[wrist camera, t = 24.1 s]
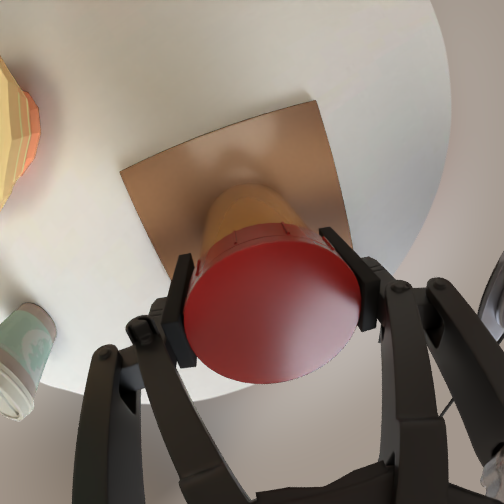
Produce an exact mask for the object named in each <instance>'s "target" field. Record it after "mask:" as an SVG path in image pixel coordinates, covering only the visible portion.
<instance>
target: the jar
mask: <svg viewBox="0 0 504 504" xmlns="http://www.w3.org/2000/svg"><path fill="white" fill-rule="evenodd" d="M281 222H284V223H286V224H293V225H297V226H300V227H304V228H306V229H308V230H311V229H310V228H309V227H308V225H307V224H306V223H305V222H304V220H303V219H302V218H301V217H300V216H299V214H298V213H297V212H296V211H295V210H294V208H293V207H292V206H291V205H290V204H289V202H288V201H287V200H286V199H285V198H284V197H283V196H282V195H281V194H280V193H279V192H278V191H276V190H275V189H273V188H271V187H269V186H266V185H263V184H258V183H244V184H239V185H235V186H233V187H231V188H228V189H227V190H225V191H224V192H222V193H221V194H220V195H219V196H218V197H217V198H216V199H215V200H214V201H213V202H212V204H211V205H210V207H209V209H208V212H207V214H206V218H205V223H204V229H203V235H202V241H201V248H200V254H199V260H200V259H201V258H202V256H203V255H204V254H205V253H206V251H208V250H209V249H210V248H211V247H212V246H213V245H214V244H215V243H216V242H218V241H219V240H221V239H222V238H223V237H225V236H227V235H229V234H231V233H233V231H234V230H235V231H237V230H240V229H242V228H245V227H248V226H252V225H256V224H263V223H281ZM311 231H312V230H311Z"/></svg>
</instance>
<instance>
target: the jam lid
mask: <svg viewBox="0 0 504 504" xmlns="http://www.w3.org/2000/svg"><path fill="white" fill-rule="evenodd" d="M360 314H361V291H360V287H359V284H358V281H357V278H356V277H355V275H354V273H353V271H352V270H351V268H350V267H349V266H348V265H347V264H346V262H345V261H344V260H343V259H342V258H341V256H340V255H339V254H338V253H337V252H336V250H335V248H334V247H333V246H332V245H331V244H330V242H329V241H328V240H327V239H326V238H325V237H324V236H323V237H321V236H320V235H318V234H316V233H315V232H313V231H311V230H308V229H306V228H304V227H300V226H297V225H293V224H286V223H284V222H281V223H263V224H256V225H252V226H248V227H245V228H242V229H240V230H237V231H235V230H234V231H233V233H231V234H229V235H227V236H225V237H223V238H222V239H221V240H219V241H218V242H216V243H215V244H214V245H213V246H212V247H211V248H210V249H209V250H208V251H206V253H205V254H204V255H203V256H202V258H201V259H200V260H197V264H196V267H195V268H194V270H193V273H192V275H191V278H190V282H189V286H188V291H187V297H186V298H185V303H184V309H183V315H184V321H183V322H184V331H185V334H186V337H187V340H188V342H189V345H190V347H191V349H192V350H193V352H194V353H195V355H196V356H197V357H198V358H199V359H200V360H201V361H202V362H203V363H204V364H205V365H206V366H207V367H209V368H210V369H211V370H213V371H215V372H216V373H218V374H220V375H222V376H224V377H227V378H230V379H233V380H236V381H240V382H245V383H253V384H271V383H279V382H285V381H289V380H293V379H296V378H299V377H302V376H304V375H307V374H309V373H311V372H313V371H315V370H317V369H319V368H320V367H322V366H323V365H325V364H326V363H328V362H329V361H330V360H332V359H333V358H334V357H335V356H336V355H337V354H338V353H339V352H340V351H341V350H342V349H343V348H344V346H345V345H346V344H347V343H348V341H349V340H350V338H351V337H352V335H353V333H354V331H355V329H356V326H357V325H358V321H359V318H360Z"/></svg>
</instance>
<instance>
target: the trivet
mask: <svg viewBox="0 0 504 504" xmlns="http://www.w3.org/2000/svg"><path fill="white" fill-rule="evenodd" d="M120 175H121V177H122V179H123V182H124V184H125V186H126V189H127V191H128V193H129V195H130V198H131V200H132V202H133V204H134V206H135V209H136V211H137V213H138V215H139V217H140V219H141V221H142V224H143V226H144V228H145V230H146V232H147V234H148V236H149V238H150V240H151V242H152V244H153V246H154V248H155V250H156V252H157V254H158V256H159V258H160V260H161V262H162V264H163V266H164V268H165V270H166V272H167V274H168V275H169V277H170V279H171V281H172V278H173V274H174V270H175V267H176V263H177V260H178V256H179V255H183V254H188V253H191V255H192V259H193V262H194V266H195V267H196V264H197V260H199V254H200V248H201V241H202V235H203V229H204V223H205V218H206V214H207V212H208V209H209V207H210V205H211V204H212V202H213V201H214V200H215V199H216V198H217V197H218V196H219V195H220V194H221V193H222V192H224V191H225V190H227V189H228V188H231V187H233V186H235V185H239V184H244V183H258V184H263V185H266V186H269V187H271V188H273V189H275V190H276V191H278V192H279V193H280V194H281V195H282V196H283V197H284V198H285V199H286V200H287V201H288V202H289V204H290V205H291V206H292V207H293V208H294V210H295V211H296V212H297V213H298V214H299V216H300V217H301V218H302V219H303V220H304V222H305V223H306V224H307V225H308V227H309V228H310V229H311V230H312V231H313V232H315V233H316V234H318V235H319V228H324V227H331V228H332V229H333V230H334V231H335V232H336V233H337V234H338V235H339V236H340V237H341V238H342V239H343V240H344V241H345V242H346V243H347V244H348V245H349V246H350V247H351V248H352V249H353V246H352V240H351V235H350V230H349V225H348V220H347V215H346V210H345V206H344V201H343V197H342V193H341V188H340V184H339V180H338V176H337V172H336V168H335V164H334V160H333V157H332V153H331V149H330V146H329V142H328V138H327V135H326V131H325V128H324V125H323V121H322V118H321V115H320V112H319V109H318V105H317V102H316V100H314V101H310V102H306V103H302V104H298V105H294V106H290V107H287V108H283V109H280V110H276V111H273V112H269V113H266V114H263V115H259V116H256V117H253V118H250V119H247V120H244V121H241V122H238V123H235V124H232V125H229V126H226V127H223V128H221V129H218V130H215V131H212V132H210V133H207V134H204V135H202V136H199V137H197V138H194V139H191V140H189V141H186V142H184V143H182V144H179V145H177V146H174V147H172V148H170V149H167V150H165V151H163V152H160V153H158V154H156V155H154V156H152V157H149V158H147V159H145V160H143V161H141V162H139V163H136V164H134V165H132V166H130V167H128V168H126V169H124V170H122V171H120Z"/></svg>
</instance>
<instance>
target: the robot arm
mask: <svg viewBox="0 0 504 504" xmlns="http://www.w3.org/2000/svg"><path fill="white" fill-rule="evenodd" d="M319 235H320V236H321V237H323V236H324V237H325V238H326V239H327V240H328V241H329V242H330V244H331V245H332V246H333V247H334V248H335V250H336V252H337V253H338V254H339V255H340V256H341V258H342V259H343V260H344V261H345V262H346V264H347V265H348V266H349V267H350V268H351V270H352V271H353V273H354V275H355V277H356V278H357V281H358V284H359V287H360V291H361V314H360V318H359V321H358V327H359V328H360V330H361V332H364V331H367V330H371V329H374V328H376V323H377V319H378V320H379V322H380V323H381V329H380V336H379V343H381V357H382V425H381V444H380V455H379V459H378V462H377V463H375V464H371V465H368V466H366V467H363V468H360V469H357V470H354V471H352V472H350V473H349V474H347V475H345V476H343V477H342V478H340V479H338V480H336V481H334V482H332V483H330V484H328V485H326V486H324V487H287V488H282V489H276V490H270V491H263V492H256V497H257V498H256V499H253V500H251V499H250V498H249V496H248V495H247V494H246V492H245V491H244V489H243V488H242V486H241V485H240V484H239V482H238V480H237V479H236V477H235V476H234V474H233V473H232V471H231V469H230V468H229V466H228V464H227V463H226V461H225V460H224V458H223V456H222V455H221V453H220V451H219V449H218V448H217V446H216V445H215V443H214V441H213V439H212V437H211V436H210V434H209V432H208V430H207V428H206V427H205V425H204V423H203V421H202V419H201V417H200V415H199V413H198V412H197V409H196V408H195V406H194V404H193V402H192V400H191V398H190V396H189V394H188V392H187V390H186V388H185V385H184V383H183V381H182V379H181V377H180V375H179V373H178V371H177V369H176V364H177V362H178V364H179V366H180V368H189V367H196V363H197V356H196V355H195V353H194V352H193V350H192V349H191V347H190V345H189V342H188V340H187V337H186V334H185V331H184V322H183V321H184V315H183V309H184V303H185V298H186V297H187V291H188V286H189V282H190V278H191V275H192V273H193V270H194V268H195V266H194V262H193V259H192V255H191V253H188V254H183V255H179V256H178V260H177V263H176V267H175V270H174V274H173V278H172V281H171V285H170V288H169V292H168V296H167V297H164V298H158V299H156V300H155V302H154V303H153V304H152V305H151V308H150V312H149V315H142V316H138V317H136V318H134V319H132V320H131V321H130V322H128V324H127V325H126V332H127V334H128V336H129V338H130V340H131V342H132V344H133V345H132V346H130V347H128V348H125V349H122V350H119V351H118V349H117V347H116V346H115V345H112V344H108V345H104V346H101V347H100V348H98V349H97V350H96V351H95V352H94V354H93V356H92V360H91V364H90V368H89V373H88V377H87V382H86V387H85V392H84V397H83V403H82V409H81V414H80V421H79V427H78V435H77V442H76V451H75V461H74V473H73V489H72V504H145V495H144V485H143V470H142V454H141V453H142V452H141V417H140V416H141V389H143V388H145V389H146V392H147V395H148V398H149V401H150V404H151V407H152V410H153V413H154V416H155V418H156V421H157V424H158V427H159V429H160V432H161V435H162V437H163V440H164V442H165V444H166V447H167V450H168V452H169V455H170V457H171V459H172V461H173V464H174V466H175V468H176V470H177V473H178V475H179V478H180V481H179V486H180V488H181V491H182V493H183V496H184V498H185V500H186V502H187V504H504V352H503V350H502V349H501V347H500V346H499V344H500V343H501V341H502V340H503V339H504V333H503V334H502V336H501V337H500V338H499V340H498V341H496V340H495V339H494V337H493V336H492V334H491V333H490V332H489V330H488V329H487V328H486V326H485V325H484V324H483V322H482V321H481V320H480V318H479V317H478V316H477V314H476V313H475V312H474V311H473V309H472V308H471V307H470V305H469V304H468V303H467V302H466V301H465V299H464V298H463V297H462V296H461V294H460V293H459V292H458V291H457V290H456V288H455V287H454V286H453V285H452V284H451V283H450V282H449V281H448V280H446V279H444V278H440V277H438V278H432V279H430V280H429V281H428V282H427V287H426V288H412V286H411V284H409V283H408V282H406V281H403V280H396V279H394V277H393V276H392V275H391V274H390V273H389V272H388V271H387V270H386V269H385V268H384V267H383V266H381V264H380V263H379V262H378V261H377V260H375V259H373V258H371V257H364V258H360V257H359V256H358V254H357V253H356V252H355V251H354V250H353V249H352V248H351V247H350V246H349V245H348V244H347V243H346V242H345V241H344V240H343V239H342V238H341V237H340V236H339V235H338V234H337V233H336V232H335V231H334V230H333V229H332V228H331V227H324V228H319ZM496 320H497V323H498V324H499V325H500V326H501V327H502V328H503V329H504V289H503V291H502V294H501V297H500V299H499V303H498V306H497V312H496ZM427 346H428V348H429V350H430V352H431V354H432V355H433V357H434V359H435V361H436V363H437V365H438V367H439V369H440V372H441V374H442V376H443V378H444V380H445V382H446V384H447V386H448V388H449V390H450V393H451V395H452V397H453V398H452V399H451V401H450V402H449V404H448V405H447V406H446V407H445V409H444V410H443V412H442V413H441V414H440V416H438V413H437V406H436V398H435V390H434V383H433V377H432V371H431V365H430V360H429V354H428V350H427ZM453 402H455V404H456V406H457V408H458V411H459V413H460V415H461V418H462V420H463V422H464V425H465V428H466V430H467V433H468V436H469V438H470V441H471V443H472V446H473V448H474V451H475V453H476V455H477V457H478V459H479V461H480V462H481V464H482V466H483V467H484V469H483V474H482V477H481V480H480V482H481V485H482V486H483V487H486V496H484V495H482V494H479V493H476V492H473V491H470V490H467V489H464V488H462V487H459V486H457V485H454V484H451V483H449V482H448V449H447V435H446V425H445V420H444V418H443V415H444V414H445V412H446V411H447V410H448V408H449V407H450V406H451V404H452V403H453Z"/></svg>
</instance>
